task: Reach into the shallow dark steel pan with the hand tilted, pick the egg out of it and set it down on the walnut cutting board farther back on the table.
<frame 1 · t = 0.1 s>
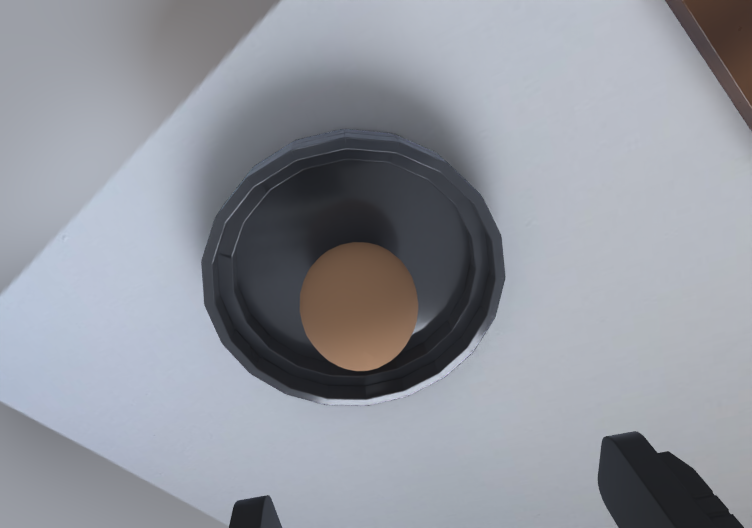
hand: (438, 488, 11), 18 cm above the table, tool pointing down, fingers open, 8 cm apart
egg: (355, 269, 28), resting on pan
pan: (355, 268, 28), on the table
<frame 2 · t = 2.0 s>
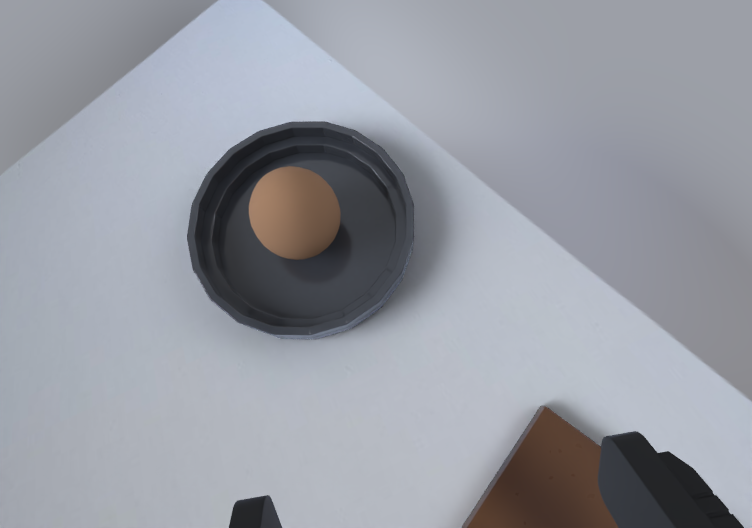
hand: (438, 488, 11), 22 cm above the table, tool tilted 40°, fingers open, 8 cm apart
egg: (307, 233, 37), resting on pan
pan: (307, 234, 37), on the table
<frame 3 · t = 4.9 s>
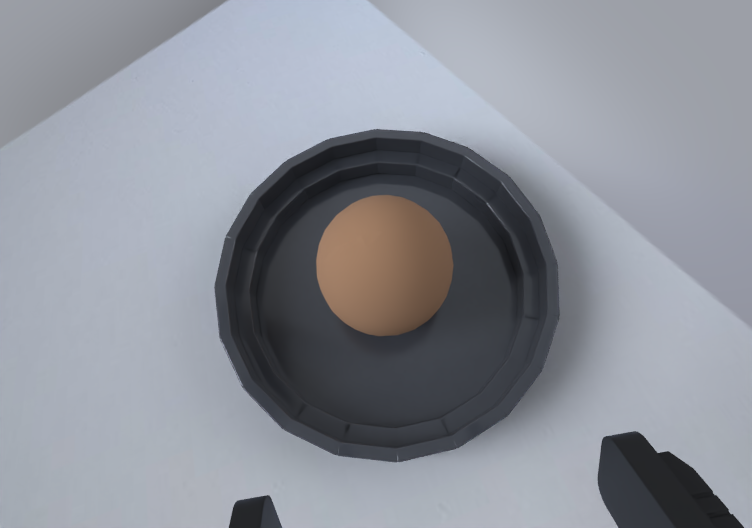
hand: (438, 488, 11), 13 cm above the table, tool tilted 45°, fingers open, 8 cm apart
egg: (385, 289, 25), resting on pan
pan: (385, 290, 25), on the table
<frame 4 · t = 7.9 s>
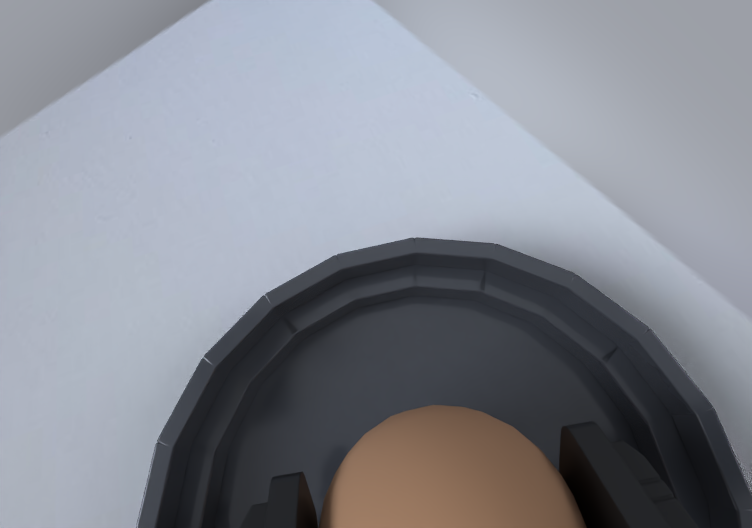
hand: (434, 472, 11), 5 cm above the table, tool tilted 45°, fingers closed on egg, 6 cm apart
egg: (433, 507, 15), resting on pan, touching gripper
pan: (432, 506, 15), on the table
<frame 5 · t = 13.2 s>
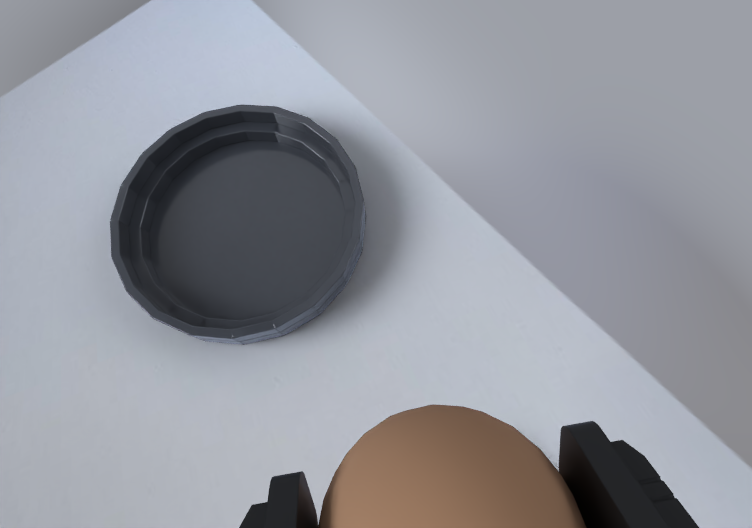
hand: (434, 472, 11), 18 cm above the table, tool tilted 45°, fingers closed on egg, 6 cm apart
egg: (432, 507, 15), point 14 cm above the table, touching gripper
pan: (249, 228, 33), on the table
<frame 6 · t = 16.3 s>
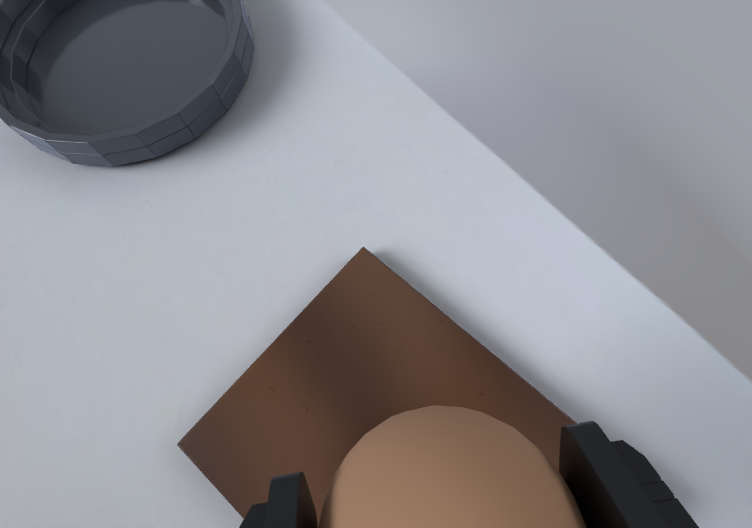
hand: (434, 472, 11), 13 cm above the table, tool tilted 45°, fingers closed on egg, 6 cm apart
egg: (433, 508, 15), point 8 cm above the table, touching gripper
board: (418, 473, 23), on the table
pan: (133, 61, 32), on the table
when the fingers open (6 cm above the table, at t = 18.8 s): egg stays where it is, resting on board.
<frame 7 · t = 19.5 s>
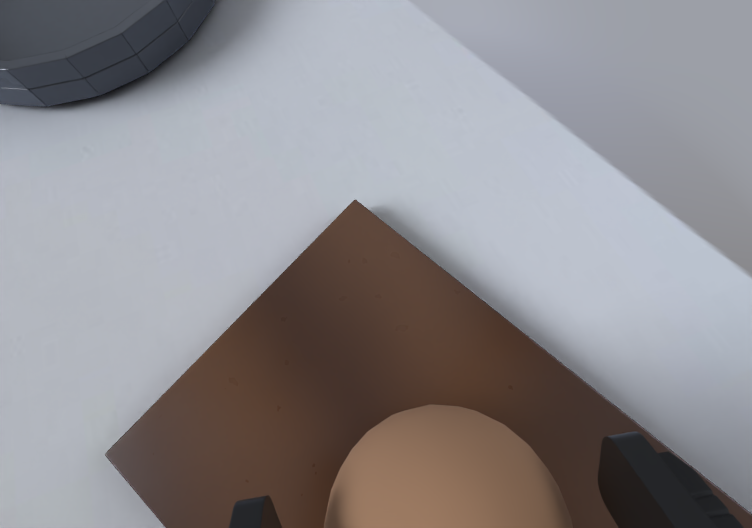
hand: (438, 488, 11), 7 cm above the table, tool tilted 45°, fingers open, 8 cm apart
egg: (431, 501, 16), point 1 cm above the table, touching board
board: (427, 492, 17), on the table
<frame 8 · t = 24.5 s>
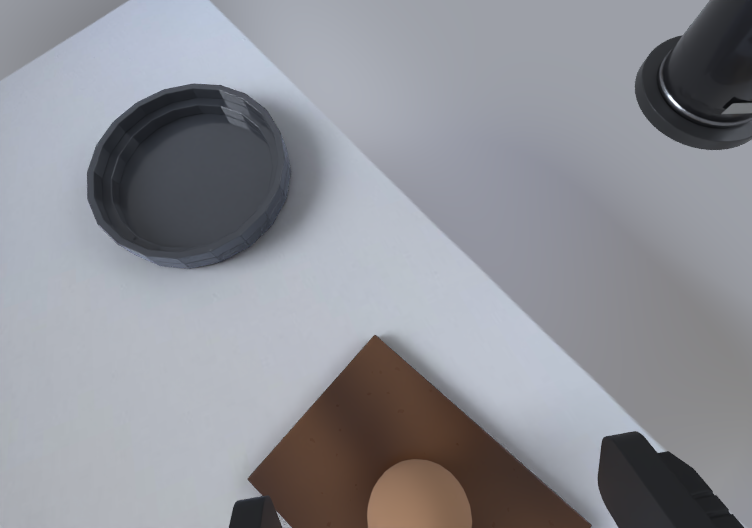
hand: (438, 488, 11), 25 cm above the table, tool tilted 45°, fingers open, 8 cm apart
egg: (415, 503, 32), point 1 cm above the table, touching board
board: (414, 498, 33), on the table
pan: (199, 181, 42), on the table
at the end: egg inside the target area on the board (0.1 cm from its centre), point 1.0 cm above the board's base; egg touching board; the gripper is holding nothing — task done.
